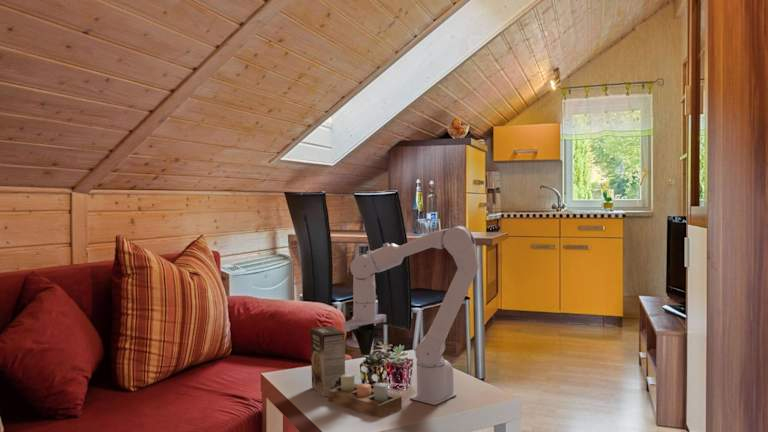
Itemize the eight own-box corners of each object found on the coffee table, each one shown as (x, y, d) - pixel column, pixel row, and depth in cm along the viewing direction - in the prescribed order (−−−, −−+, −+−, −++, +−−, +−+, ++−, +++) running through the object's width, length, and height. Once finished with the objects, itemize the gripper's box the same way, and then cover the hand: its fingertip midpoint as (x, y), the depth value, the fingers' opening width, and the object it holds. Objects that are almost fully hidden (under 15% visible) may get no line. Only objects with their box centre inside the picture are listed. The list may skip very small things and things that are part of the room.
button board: (328, 401, 146) (328, 390, 146) (350, 393, 152) (350, 382, 152) (379, 417, 135) (379, 405, 135) (401, 408, 141) (401, 396, 141)
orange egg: (363, 398, 146) (363, 382, 146) (374, 401, 144) (373, 385, 144) (354, 402, 144) (354, 386, 143) (364, 405, 141) (364, 388, 141)
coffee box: (310, 387, 158) (309, 327, 157) (333, 383, 161) (331, 325, 160) (323, 397, 150) (322, 334, 149) (346, 393, 153) (345, 331, 152)
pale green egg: (347, 388, 150) (347, 373, 150) (357, 391, 148) (357, 375, 147) (338, 392, 147) (338, 376, 147) (347, 395, 145) (347, 379, 145)
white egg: (380, 398, 142) (380, 381, 142) (391, 401, 140) (390, 384, 140) (371, 402, 140) (370, 385, 140) (381, 405, 138) (381, 388, 137)
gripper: (372, 296, 159) (373, 346, 159) (333, 304, 148) (334, 357, 148) (391, 299, 154) (392, 350, 155) (353, 307, 143) (354, 362, 144)
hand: (365, 354), depth 151 cm, fingers closed
